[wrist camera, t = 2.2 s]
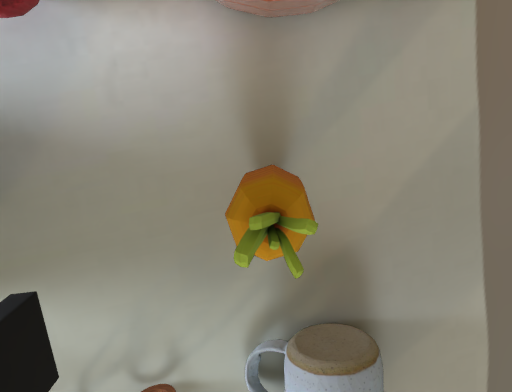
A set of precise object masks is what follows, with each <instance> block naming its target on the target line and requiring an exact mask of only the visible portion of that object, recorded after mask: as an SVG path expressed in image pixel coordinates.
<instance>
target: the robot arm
mask: <svg viewBox="0 0 512 392" xmlns="http://www.w3.org/2000/svg"><path fill="white" fill-rule="evenodd" d="M58 378H59V375H58V372H57V368H56V364H55V360H54V356H53V353H52V349H51V345H50V341H49V337H48V334H47V330H46V326H45V322H44V318H43V314H42V311H41V307H40V303H39V299H38V295H37V292H27V293H19V294H10V295H9V296H8V297H7V298H5V299H4V300H3V301H1V302H0V392H48V391H49V390H50V389H51V387H52V386H53V385H54V383H55V382H56V381H57V379H58Z"/></svg>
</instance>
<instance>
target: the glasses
mask: <svg viewBox="0 0 512 392" xmlns="http://www.w3.org/2000/svg"><path fill="white" fill-rule="evenodd" d="M141 392H176V391H175V389H174V388H173V387H172V386H171V385H168V384H158V385H154V386H151V387H149V388H147V389H145V390H143V391H141Z"/></svg>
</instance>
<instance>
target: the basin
mask: <svg viewBox="0 0 512 392" xmlns="http://www.w3.org/2000/svg"><path fill="white" fill-rule="evenodd" d="M216 1H217V2H219V3H221V4H222V5H224V6H225V7H227V8H230V9H234V10H239V11H243V12H247V13H252V14H256V15H261V16H265V17H279V16H288V15H297V14H306V13H313V12H315V11H318V10H320V9H322V8H324V7H326V6H328V5H330V4H333V3H335V2H337V1H339V0H216Z"/></svg>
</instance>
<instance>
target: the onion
mask: <svg viewBox="0 0 512 392" xmlns="http://www.w3.org/2000/svg"><path fill="white" fill-rule="evenodd" d="M38 3H39V0H0V18H9V17H16V16H22V15H24V14H26V13H27V12H28V11H30V10H31V9H32V8H33V7H35V6H36V5H37V4H38Z"/></svg>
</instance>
